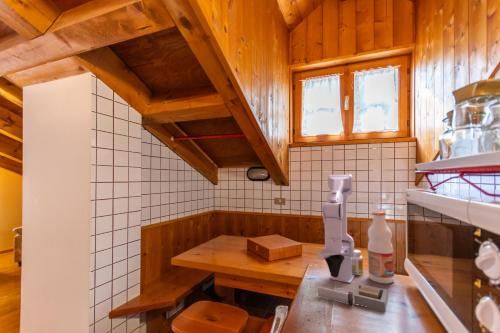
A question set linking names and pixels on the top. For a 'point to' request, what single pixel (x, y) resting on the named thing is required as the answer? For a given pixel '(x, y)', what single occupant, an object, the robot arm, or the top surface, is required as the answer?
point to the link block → (370, 292)
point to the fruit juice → (380, 250)
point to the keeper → (336, 295)
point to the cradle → (372, 300)
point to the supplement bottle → (357, 263)
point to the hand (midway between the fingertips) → (334, 276)
